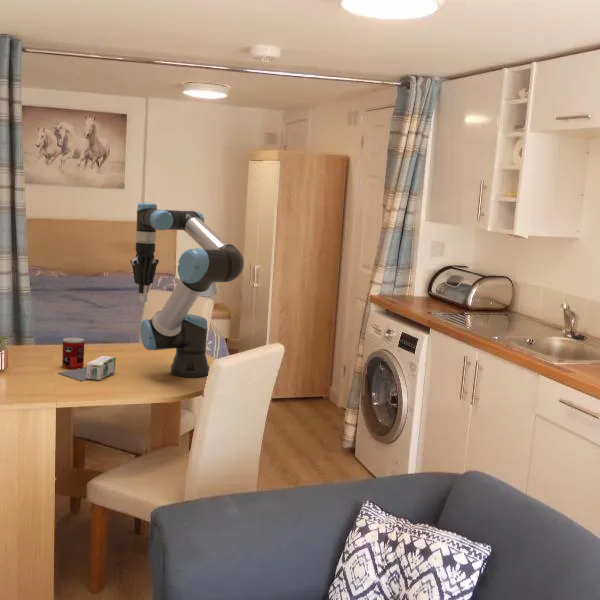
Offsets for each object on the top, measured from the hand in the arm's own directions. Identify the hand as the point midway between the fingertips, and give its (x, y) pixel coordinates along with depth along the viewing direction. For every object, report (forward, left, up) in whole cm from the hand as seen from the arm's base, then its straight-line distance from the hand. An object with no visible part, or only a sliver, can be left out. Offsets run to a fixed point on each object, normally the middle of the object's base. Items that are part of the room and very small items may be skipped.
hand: (143, 301), depth 292 cm
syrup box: (+1, +16, -23) cm, 28 cm away
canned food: (+14, +22, -27) cm, 37 cm away
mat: (+2, +25, -26) cm, 36 cm away
